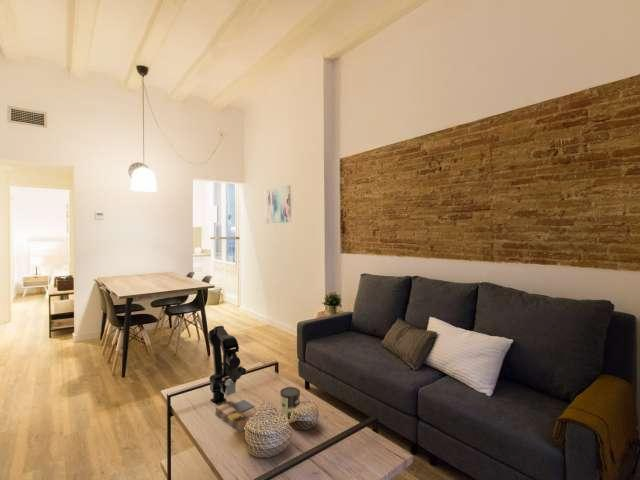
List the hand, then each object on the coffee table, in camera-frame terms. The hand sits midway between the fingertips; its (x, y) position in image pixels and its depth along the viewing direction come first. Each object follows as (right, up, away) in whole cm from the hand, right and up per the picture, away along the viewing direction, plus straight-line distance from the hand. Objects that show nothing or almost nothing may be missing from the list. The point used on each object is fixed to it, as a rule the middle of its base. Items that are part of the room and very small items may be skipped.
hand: (228, 390), depth 180 cm
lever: (+8, -8, -9) cm, 15 cm away
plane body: (+4, -13, -5) cm, 14 cm away
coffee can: (+32, -14, -1) cm, 35 cm away
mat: (+5, -13, +9) cm, 16 cm away
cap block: (0, -1, 0) cm, 1 cm away
